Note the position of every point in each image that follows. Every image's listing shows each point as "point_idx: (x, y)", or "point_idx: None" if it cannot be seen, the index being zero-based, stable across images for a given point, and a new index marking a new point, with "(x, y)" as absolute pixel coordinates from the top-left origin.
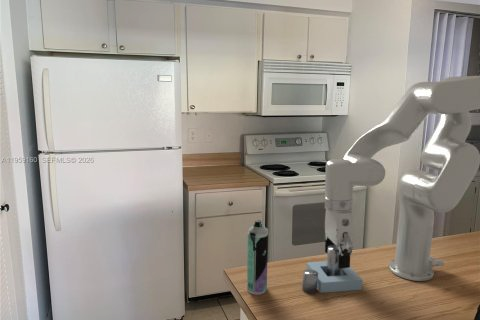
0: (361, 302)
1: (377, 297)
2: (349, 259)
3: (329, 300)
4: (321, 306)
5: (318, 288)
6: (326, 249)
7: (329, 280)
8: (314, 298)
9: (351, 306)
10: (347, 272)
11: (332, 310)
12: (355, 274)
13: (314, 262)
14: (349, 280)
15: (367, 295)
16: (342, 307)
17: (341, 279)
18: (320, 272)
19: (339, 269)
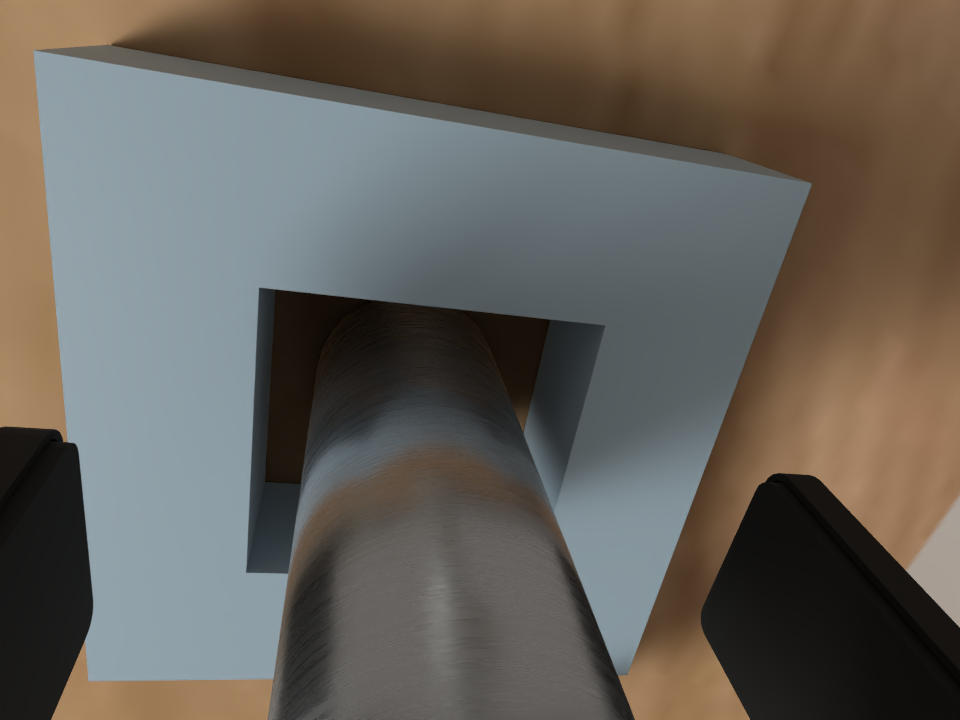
0: (896, 312)
1: (941, 66)
2: (916, 604)
3: (721, 559)
4: None
5: None
6: (62, 690)
7: (625, 590)
8: (641, 649)
9: (885, 432)
10: (537, 284)
11: None
12: (640, 193)
13: (102, 598)
14: (734, 376)
15: (847, 163)
16: (851, 506)
17: (666, 459)
18: None
19: (527, 446)
